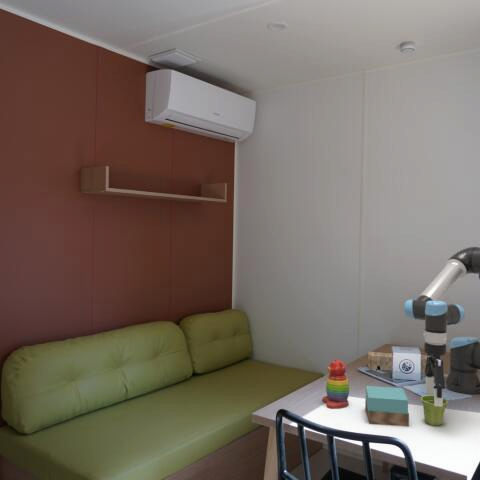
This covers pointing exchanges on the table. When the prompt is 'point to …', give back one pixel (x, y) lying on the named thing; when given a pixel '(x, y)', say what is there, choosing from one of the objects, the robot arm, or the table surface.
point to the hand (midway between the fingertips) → (433, 399)
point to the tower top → (386, 399)
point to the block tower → (387, 361)
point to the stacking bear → (337, 386)
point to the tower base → (387, 418)
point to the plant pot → (433, 410)
